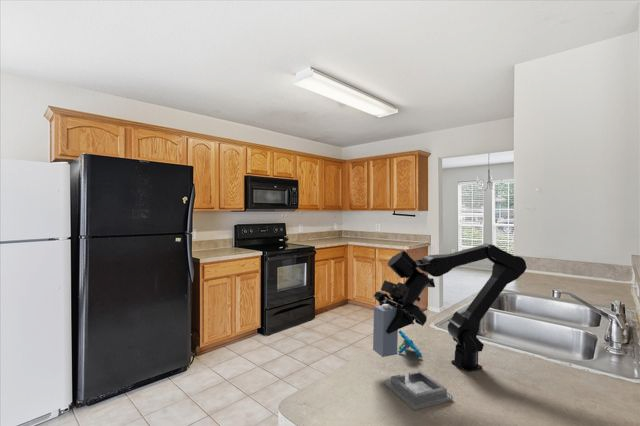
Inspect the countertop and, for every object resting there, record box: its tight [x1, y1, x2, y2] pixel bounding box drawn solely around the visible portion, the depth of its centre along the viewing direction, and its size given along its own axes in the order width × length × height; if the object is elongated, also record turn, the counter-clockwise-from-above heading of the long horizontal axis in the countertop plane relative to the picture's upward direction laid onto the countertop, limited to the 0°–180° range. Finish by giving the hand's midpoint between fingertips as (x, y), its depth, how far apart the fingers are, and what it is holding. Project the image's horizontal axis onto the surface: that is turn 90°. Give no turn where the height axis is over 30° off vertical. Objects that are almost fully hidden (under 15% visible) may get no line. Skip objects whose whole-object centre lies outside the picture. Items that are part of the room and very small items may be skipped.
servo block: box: [372, 304, 399, 358], centre depth 93 cm, size 5×5×14 cm
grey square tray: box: [384, 370, 454, 411], centre depth 83 cm, size 12×12×2 cm
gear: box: [397, 329, 423, 357], centre depth 106 cm, size 11×6×10 cm
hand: (381, 329), depth 92 cm, fingers closed on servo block, 5 cm apart
